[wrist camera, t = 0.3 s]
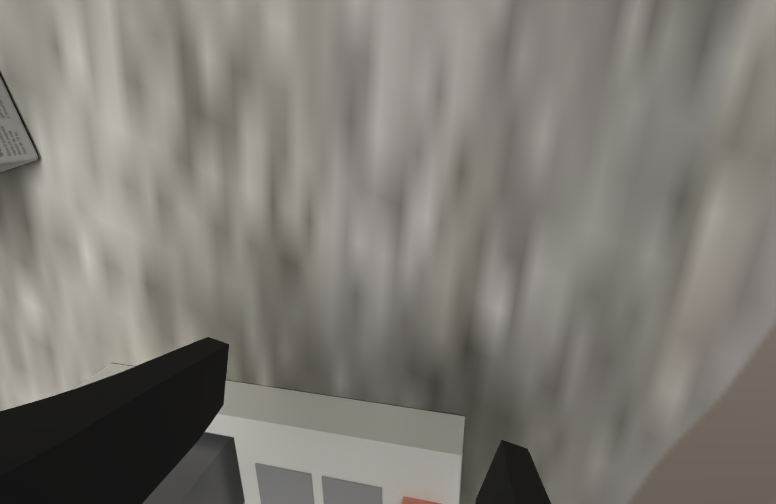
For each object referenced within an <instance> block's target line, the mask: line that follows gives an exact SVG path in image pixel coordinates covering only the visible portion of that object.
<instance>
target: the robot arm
mask: <svg viewBox="0 0 776 504" xmlns="http://www.w3.org/2000/svg"><path fill="white" fill-rule="evenodd" d="M228 349H229V344H226V343H224V342H221V341H218V340H215V339H212V338H209V337H207V338H205V339H202V340H199V341H197V342H194V343H192V344H189V345H187V346H184V347H182V348H179V349H177V350H175V351H172V352H170V353H167V354H165V355H162V356H160V357H158V358H155V359H153V360H150V361H148V362H145V363H143V364H140V365H138V366H135V367H133V368H130V369H128V370H125V371H123V372H120V373H117V374H115V375H112V376H109V377H106V378H104V379H101V380H98V381H95V382H93V383H90V384H87V385H84V386H81V387H79V388H76V389H73V390H70V391H67V392H64V393H61V394H58V395H55V396H52V397H49V398H45V399H42V400H39V401H35V402H32V403H28V404H25V405H22V406H18V407H15V408H11V409H7V410H4V411H0V504H142V503H143V502H144V501H145V500H146V499H147V498H148V497H149V495H150V494H151V493H152V492H153V491H154V490H155V489H156V488H157V487H158V485H159V484H160V483H161V482H162V481H163V480H164V479H165V478H166V477H167V475H168V474H169V473H170V472H171V471H172V470H173V469H174V468H175V467H176V465H177V464H178V463H179V462H180V461H181V460H182V459H183V457H184V456H185V455H186V454H187V453H188V452H189V451H190V450H191V448H192V447H193V446H194V445H195V444H196V443H197V441H198V440H199V439H200V438H201V436H202V435H203V434H204V432H205V431H206V429H207V428H208V427H209V425H210V424H211V422H212V421H213V420H214V418H215V417H216V415H217V414H218V412H219V411H220V409H221V408H222V406H223V405H224V394H225V383H226V372H227V361H228ZM476 504H551V502H550V500H549V498H548V495H547V493H546V491H545V488H544V486H543V484H542V481H541V479H540V477H539V474H538V472H537V470H536V467H535V465H534V462H533V460H532V458H531V455H530V453H529V451H528V449H526V448H523V447H520V446H518V445H515V444H512V443H509V442H506V441H503V440H501V442H500V445H499V447H498V449H497V452H496V454H495V456H494V459H493V461H492V463H491V466H490V468H489V470H488V473H487V475H486V477H485V480H484V482H483V484H482V487H481V489H480V491H479V493H478V496H477V498H476Z"/></svg>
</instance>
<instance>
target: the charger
mask: <svg viewBox="0 0 776 504" xmlns="http://www.w3.org/2000/svg"><path fill="white" fill-rule="evenodd" d="M244 501H245V499H244V493H243V488H242V482H241V476H240V470H239V464H238V458H237V453H236V447H235V441H234V437H230V436H224V435H219V434H214V433H208V432H204V434H203V435H202V436H201V438H200V439H199V440H198V441H197V443H196V444H195V445H194V446H193V447H192V448H191V450H190V451H189V452H188V453H187V454H186V455H185V456H184V457H183V459H182V460H181V461H180V462H179V463H178V464H177V465H176V467H175V468H174V469H173V470H172V471H171V472H170V473H169V474H168V475H167V477H166V478H165V479H164V480H163V481H162V482H161V483H160V484H159V485H158V487H157V488H156V489H155V490H154V491H153V492H152V493H151V494H150V495H149V497H148V498H147V499H146V500H145V501H144V502H143V503H142V504H243V503H244Z"/></svg>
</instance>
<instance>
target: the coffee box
mask: <svg viewBox="0 0 776 504" xmlns="http://www.w3.org/2000/svg"><path fill="white" fill-rule="evenodd" d="M37 159H38V155H37V153H36V151H35V149H34V147H33V144H32V142H31V140H30V138H29V136H28V134H27V132H26V130H25V128H24V126H23V124H22V121H21V119H20V117H19V115H18V113H17V111H16V109H15V107H14V104H13V102H12V100H11V98H10V96H9V94H8V91H7V89H6V87H5V85H4V83H3V81H2V79H1V77H0V173H1V172H4V171H7V170H9V169H12V168H15V167H18V166H21V165H24V164H27V163H30V162H33V161H36V160H37Z"/></svg>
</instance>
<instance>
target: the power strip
mask: <svg viewBox="0 0 776 504" xmlns="http://www.w3.org/2000/svg"><path fill="white" fill-rule="evenodd" d="M133 367H134V366H127V365H121V364H114V363H111V364H109V365H108V366H106V367H105V368H103V369H102V370H100V371H99V372H97V373H96V374H95V375H93V376H92V377H90V378H89V379H87V380H86V381H84V382H83V383H81V384H80V385H79V386H77V387H76V388H79V387H81V386H84V385H87V384H90V383H93V382H95V381H98V380H101V379H104V378H106V377H109V376H112V375H115V374H117V373H120V372H123V371H125V370H128V369H130V368H133ZM76 388H74V389H76ZM464 426H465V416H459V415H452V414H446V413H439V412H433V411H426V410H419V409H413V408H406V407H399V406H393V405H386V404H379V403H373V402H366V401H360V400H353V399H346V398H340V397H333V396H326V395H320V394H313V393H306V392H300V391H293V390H287V389H280V388H273V387H267V386H260V385H253V384H247V383H240V382H233V381H227V380H226V383H225V394H224V405H223V406H222V408H221V409H220V411H219V412H218V414H217V415H216V417H215V418H214V420H213V421H212V422H211V424H210V425H209V427H208V428H207V429H206V431H205V432H208V433H214V434H219V435H224V436H230V437H234V441H235V447H236V453H237V458H238V464H239V470H240V476H241V482H242V488H243V493H244V499H245V501H244V503H243V504H460V491H461V475H462V459H463V442H464Z"/></svg>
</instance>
